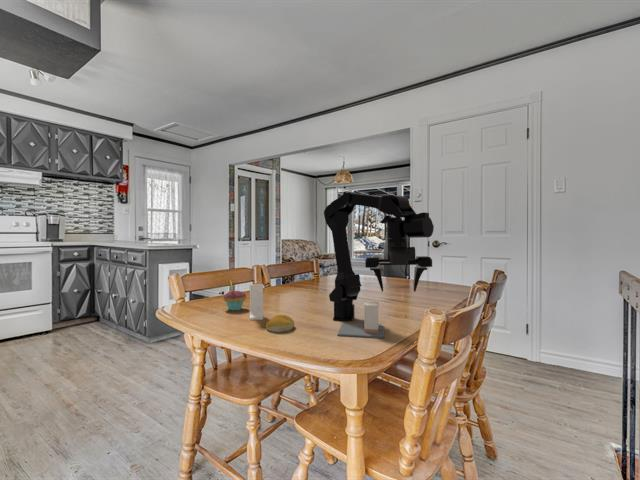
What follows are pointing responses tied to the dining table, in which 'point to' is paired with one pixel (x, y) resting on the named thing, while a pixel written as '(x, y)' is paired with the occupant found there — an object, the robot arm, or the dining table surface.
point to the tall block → (371, 317)
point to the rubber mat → (359, 331)
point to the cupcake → (234, 299)
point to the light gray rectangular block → (256, 302)
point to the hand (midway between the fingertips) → (398, 291)
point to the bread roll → (280, 324)
